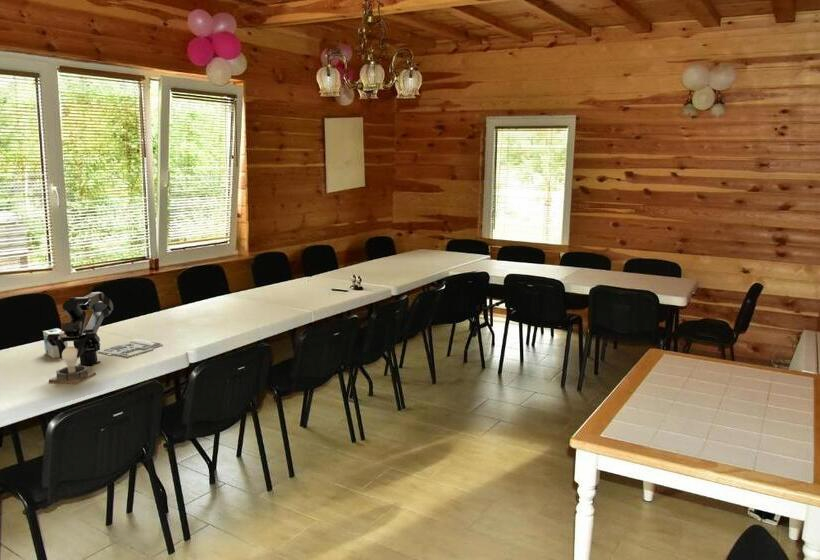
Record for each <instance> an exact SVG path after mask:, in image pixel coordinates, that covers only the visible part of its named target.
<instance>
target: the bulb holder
mask: <svg viewBox="0 0 820 560" xmlns="http://www.w3.org/2000/svg"><path fill="white" fill-rule="evenodd" d="M55 373H56V376H55V377H52V378H50V379H48V383H52V382H54V383H55V384H65V383H66V384H65V385H77V384H78V383H81V382H83V381H85V380H87V379H89V378H92V377H93V376H96V375H97V372H96V371H89V370H88V366H78V364H77V365H75V372H74V373H69V372H68V366H65V367H61V368H60V369H57V370H56V371H55ZM54 383H53V384H54Z"/></svg>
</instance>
